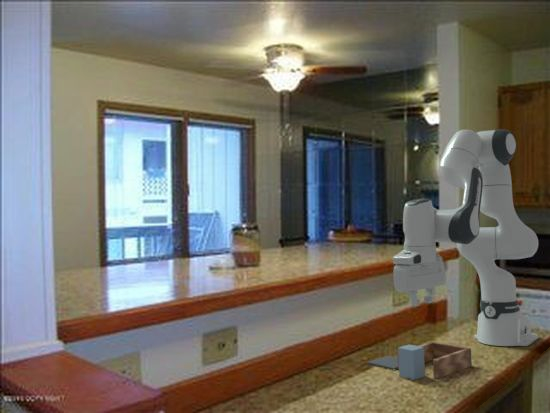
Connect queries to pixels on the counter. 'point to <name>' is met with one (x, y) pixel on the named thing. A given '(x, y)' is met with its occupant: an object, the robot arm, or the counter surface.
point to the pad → (385, 362)
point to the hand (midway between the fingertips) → (422, 304)
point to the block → (411, 361)
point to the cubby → (446, 358)
